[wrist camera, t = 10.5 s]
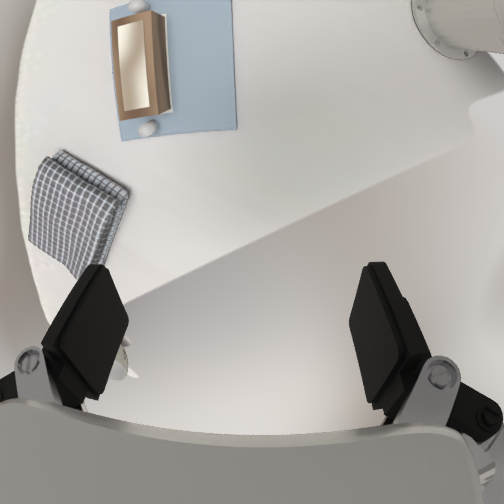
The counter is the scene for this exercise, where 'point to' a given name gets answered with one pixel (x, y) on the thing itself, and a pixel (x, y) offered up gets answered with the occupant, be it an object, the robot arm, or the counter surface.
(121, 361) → the teacup
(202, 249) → the counter surface
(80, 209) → the towel
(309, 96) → the counter surface
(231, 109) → the panel
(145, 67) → the frame
